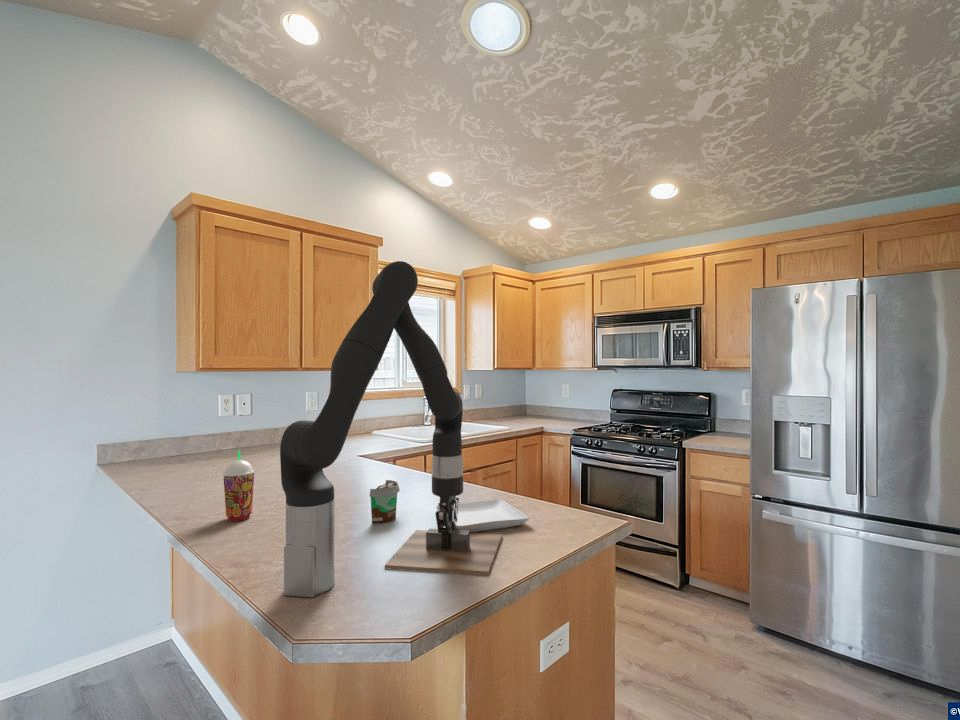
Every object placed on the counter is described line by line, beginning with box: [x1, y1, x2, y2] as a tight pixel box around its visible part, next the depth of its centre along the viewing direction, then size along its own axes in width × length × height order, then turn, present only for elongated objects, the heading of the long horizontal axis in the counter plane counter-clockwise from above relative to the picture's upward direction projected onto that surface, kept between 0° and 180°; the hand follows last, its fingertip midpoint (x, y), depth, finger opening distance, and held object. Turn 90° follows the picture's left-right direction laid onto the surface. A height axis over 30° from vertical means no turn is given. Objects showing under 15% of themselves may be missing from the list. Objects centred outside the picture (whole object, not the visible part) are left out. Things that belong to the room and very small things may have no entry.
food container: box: [369, 479, 400, 525], centre depth 140 cm, size 12×6×10 cm, turn 168°
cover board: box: [384, 528, 503, 576], centre depth 115 cm, size 23×23×5 cm
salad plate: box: [436, 499, 530, 533], centre depth 137 cm, size 21×21×3 cm
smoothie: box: [222, 450, 256, 522], centre depth 142 cm, size 8×8×20 cm
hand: (448, 545), depth 115 cm, fingers closed on cover board, 3 cm apart
